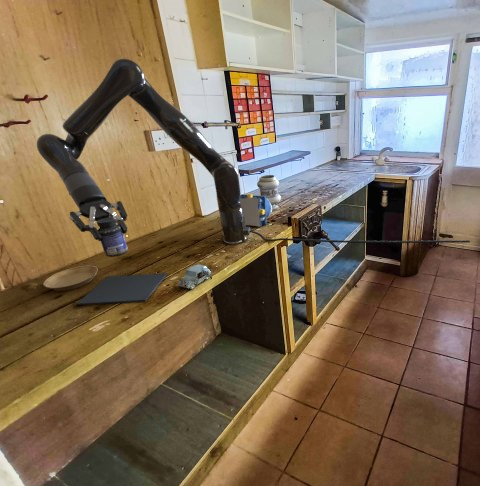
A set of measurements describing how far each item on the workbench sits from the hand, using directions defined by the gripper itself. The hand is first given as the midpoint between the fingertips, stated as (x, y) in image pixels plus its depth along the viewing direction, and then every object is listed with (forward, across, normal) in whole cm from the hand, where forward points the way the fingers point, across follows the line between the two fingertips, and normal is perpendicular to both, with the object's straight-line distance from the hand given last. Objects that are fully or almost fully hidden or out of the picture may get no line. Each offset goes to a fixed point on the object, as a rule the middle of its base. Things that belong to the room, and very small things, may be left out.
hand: (113, 235), depth 93 cm
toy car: (+24, +14, +2) cm, 28 cm away
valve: (+4, +65, +22) cm, 69 cm away
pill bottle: (+3, 0, +6) cm, 7 cm away
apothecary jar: (-2, +84, +29) cm, 89 cm away
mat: (+12, -1, +14) cm, 19 cm away
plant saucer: (-1, -9, +28) cm, 29 cm away
